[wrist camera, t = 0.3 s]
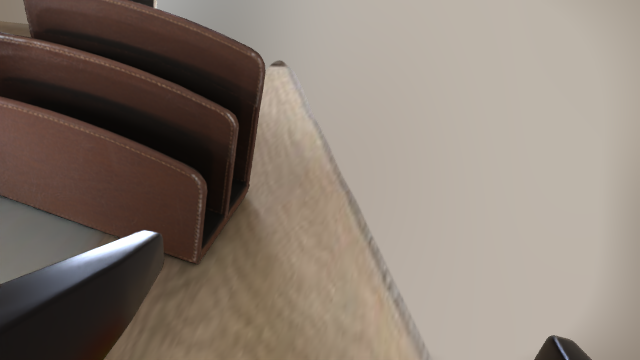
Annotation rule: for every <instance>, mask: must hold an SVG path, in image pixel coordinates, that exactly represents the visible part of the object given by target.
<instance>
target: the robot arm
mask: <svg viewBox="0 0 640 360" xmlns="http://www.w3.org/2000/svg"><path fill="white" fill-rule="evenodd" d="M163 264H164V247H163V237H162V235H161V234H160V233H157V232H154V231H150V230H142V231H140V232H137V233H134V234H132V235H129V236H126V237H124V238H121V239H119V240H116V241H113V242H111V243H108V244H105V245H103V246H100V247H98V248H95V249H92V250H90V251H87V252H84V253H82V254H79V255H76V256H74V257H71V258H69V259H66V260H63V261H61V262H58V263H55V264H53V265H50V266H48V267H45V268H42V269H40V270H37V271H34V272H32V273H29V274H27V275H24V276H21V277H19V278H16V279H13V280H11V281H8V282H5V283H3V284H0V360H104V358H105V357H106V356H107V354H108V353H109V351H110V350H111V349H112V347H113V346H114V345H115V343H116V342H117V341H118V339H119V338H120V336H121V335H122V334H123V332H124V331H125V329H126V328H127V327H128V325H129V324H130V322H131V321H132V319H133V317H134V316H135V314H136V312H137V311H138V309H139V307H140V305H141V304H142V302H143V300H144V299H145V297H146V295H147V293H148V292H149V290H150V288H151V287H152V285H153V283H154V281H155V280H156V278H157V276H158V275H159V273H160V271H161V269H162V267H163ZM534 360H592V359H590V357H589V356H587V354H586V353H584V351H583V350H582V349H581V348H579V346H578V345H577V344H576V343H574V342H573V341H572V340H570V339H566V338H563V337H559V336H555V335H553V336H550V337H548V338H547V340H546V341H545V343H544V344H543V346H542V348H541V349H540V351H539V353H538V354H537V356H536V357H535V359H534Z"/></svg>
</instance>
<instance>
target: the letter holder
mask: <svg viewBox="0 0 640 360" xmlns="http://www.w3.org/2000/svg"><path fill="white" fill-rule="evenodd" d="M23 1H24V5H25V11H26V15H27V20H28V23H29V29H30V34H31V38H30V37H24V36H18V35H12V34H7V33H1V32H0V195H1V196H4V197H7V198H9V199H12V200H15V201H17V202H21V203H23V204H26V205H29V206H32V207H35V208H38V209H40V210H43V211H46V212H48V213H51V214H55V215H57V216H60V217H63V218H65V219H68V220H71V221H74V222H77V223H80V224H83V225H85V226H88V227H90V228H94V229H97V230H100V231H103V232H104V233H109V234H111V235H114V236H117V237H119V238H124V237H126V236H129V235H132V234H134V233H137V232H140V231H142V230H150V231H154V232H157V233H160V234H161V235H162V237H163V247H164V253H166V254H169V255H171V256H174V257H177V258H180V259H182V260H186V261H189V262H192V263H195V264H199V263H200V261H201V259H202V258H203V257H204V255H205V254H206V252H207V251H208V249H209V248H210V246H211V245H212V243H213V242H214V240H215V239H216V237H217V236H218V235H219V233H220V232H221V230H222V229H223V227H224V226H225V224H226V223H227V221H228V220H229V219H230V217H231V216H232V214H233V213H234V212H235V210H236V209H237V207H238V206H239V204H240V203H241V201H242V200H243V198H244V197H245V195H246V193H247V192H248V188H249V180H250V173H251V168H252V160H253V154H254V147H255V140H256V134H257V126H258V118H259V111H260V105H261V99H262V93H263V86H264V79H265V63H264V61H263V59H262V57H261V56H260V55H259V53H257V52H256V51H254V50H253V49H252V48H250V47H248V46H246V45H244V44H242V43H240V42H238V41H236V40H234V39H231V38H229V37H227V36H225V35H223V34H221V33H219V32H216V31H214V30H212V29H209V28H207V27H204V26H202V25H200V24H197V23H195V22H192V21H189V20H187V19H185V18H182V17H179V16H176V15H173V14H171V13H168V12H165V11H162V10H158V9H156V8H152V7H149V6H146V5H143V4H140V3H136V2H133V1H129V0H23Z"/></svg>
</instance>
